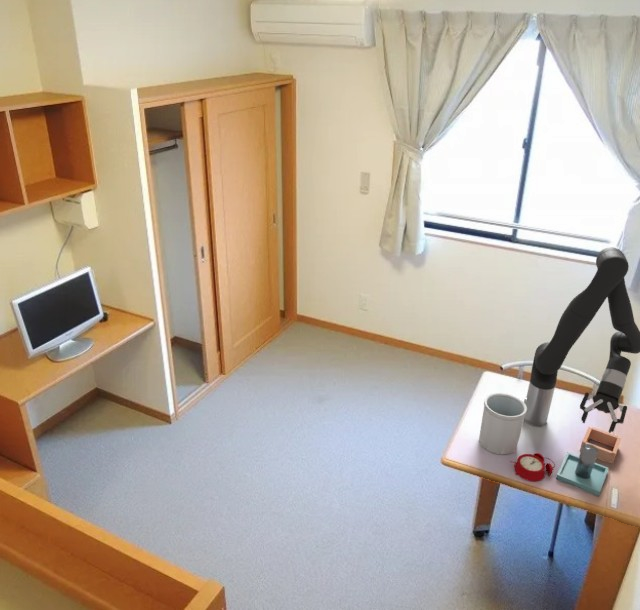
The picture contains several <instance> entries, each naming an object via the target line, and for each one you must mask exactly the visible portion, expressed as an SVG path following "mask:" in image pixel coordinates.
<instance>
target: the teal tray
mask: <svg viewBox="0 0 640 610" xmlns="http://www.w3.org/2000/svg"><path fill="white" fill-rule="evenodd" d="M579 456H580V455H576V454H574V453H570V452H566V454H565V456H564V458H563V461H562V463H561V466H559V469H558V471H557V474H556V477H555V480H558V481H559V482H562V483H565V484H567V485H569V486H572V487H575V488H577V489H580V490H582V491H585V492H587V493H589V494H592V495H594V496H597V497H599V496H600V494H601V491H602V489H603V485H604V482H605V480H606V477H607V474H608V471H609V469H610V468H609V467H607V466H605V465H603V464H599V463H597V462H595V463H594V466H593V469H592V472H591V475H590V478H588V479H584V478H581V477H579V476H577V475H576V473H575V469H576V466H577V463H578V460H579Z"/></svg>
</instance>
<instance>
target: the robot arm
mask: <svg viewBox="0 0 640 610" xmlns="http://www.w3.org/2000/svg"><path fill="white" fill-rule="evenodd" d="M595 260H596V261H595V263H596V264H595V265H596V268H597V269H596V273H595V275H594V276H593V278H592V279H591V281H590V283H589V284H588V286H586V288H584V290H582V291H581V292H580V293H578V294H577V295H576V296H575V297H573V299H571V300H570V303H569V304H568V305H567V307H566V308H565V310H564V311H563V313H562V314H561V315H560V319H559V320H558V324H557V326H556V329H555V331H554V333H553V336H552V338H551V340H550V341H549V342H548V341H547V342H544V343H541V344H539V345H538V347H537V348H536V350H535V352H534V357H533V360H532V361H533V362H532V367H531V372H530V379H529V384H528V388H527V393H526V396H525V398H524V400H523V402H524V403H525V404H526V406H527V412H526V414H525V417H524V421H523V422H526V423H527V424H528V425H531V426H533V427H542V426H545V425H546V424H547V422H548V418H549V414H550V408H551V405H552V400H553V397H554V394H555V392H554V391H555V389H556V384H557V379H558V372H559V370H560V369H561V367H562V366H563V363H564V362H565V359H566V358H567V355H568V354H569V352H570V350H571V349H572V348H573V346H574V345H575V344H576V342H577V341H578V340H579V339H580V337H581V336H582V334H583V333H584V331H585V330H586V329H587V327H588V326H589V325H590V323H592V321H593V319H595V317H596V315H597V313H598V311H599V310H600V309H601V307H602V305H603V304H604V303H605V302H606V300H607V303H608V308H609V309H608V310H609V315H610V318H611V325H612V328H613V329H614V330H615V331H616V332H615V333H613V334H612V336H611V337H610V342H609V358H608V361H607V363H606V364H607V365H606V367H605V370H604V372H603V374H602V376H601V379H600V382H599V384H598V387H597V389H596V393H595V394H594V395H592V394H590V393H589V392H585V394H584V396H583V398H582V400H581V402H580V404H579V409H580V410H581V411H583V413H582V416H581V422H582V423H583V424H585V423H586V422H587V417H588V415H589V413H590V412H592V411H594V410H595V409H596V410H597V411H599V412H603V413H605V414H609V415H610V417H611V419H612V421H611V424H610V426H609V430H608V433H610V434H612V433H613V432H615V428H616V425H617V424H621V425H622V424H624V422H625V417H626V413H627V410H628V406H627V405H622V404H619V403H620V399H621V396H622V394H623V391H624V388H625V385H626V382H627V377H628V374H629V371H630V369H631V366H632V364H631V363H632V362H631V360H630V359H629V358H628V357H625V356H623V355H622V353H628V354H633V355H634V354H635V355H636V354H640V329H639V327H638V326H637V324H636V322H635V317H634V312H633V306H632V303H631V300H630V296H629V293H628V290H627V285H626V281H625V277H626V275H627V274H628V272H629V268H630V267H629V262H628V259H627V257H626V255H625V253H624V252H623V251H622V250H620V249H619V248H617V247H610V246H609V247H605V248H603V249H601V250H600V251H599V252H598V254H597V255H596V259H595ZM590 400H592V401H593V403H592V404H590V405H588V406H585V405H586V404H587V402H588V401H590ZM617 409H619V411H620V413H621V414H620V417H619V418H617V416H616V413H615V411H616V410H617ZM582 423H581V424H582Z"/></svg>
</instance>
